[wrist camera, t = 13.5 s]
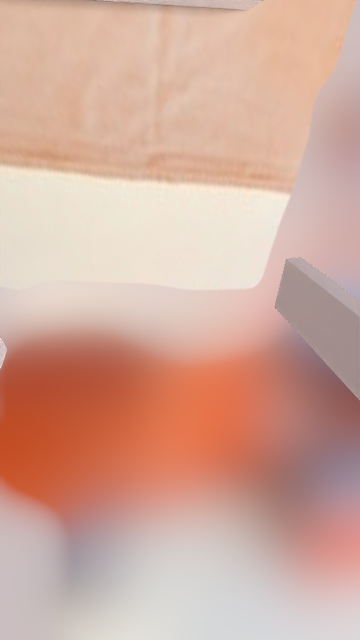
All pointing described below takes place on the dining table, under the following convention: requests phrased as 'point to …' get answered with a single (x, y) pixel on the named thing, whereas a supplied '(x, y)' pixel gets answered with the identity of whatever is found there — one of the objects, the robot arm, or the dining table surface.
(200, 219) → the dining table surface
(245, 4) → the low wall
